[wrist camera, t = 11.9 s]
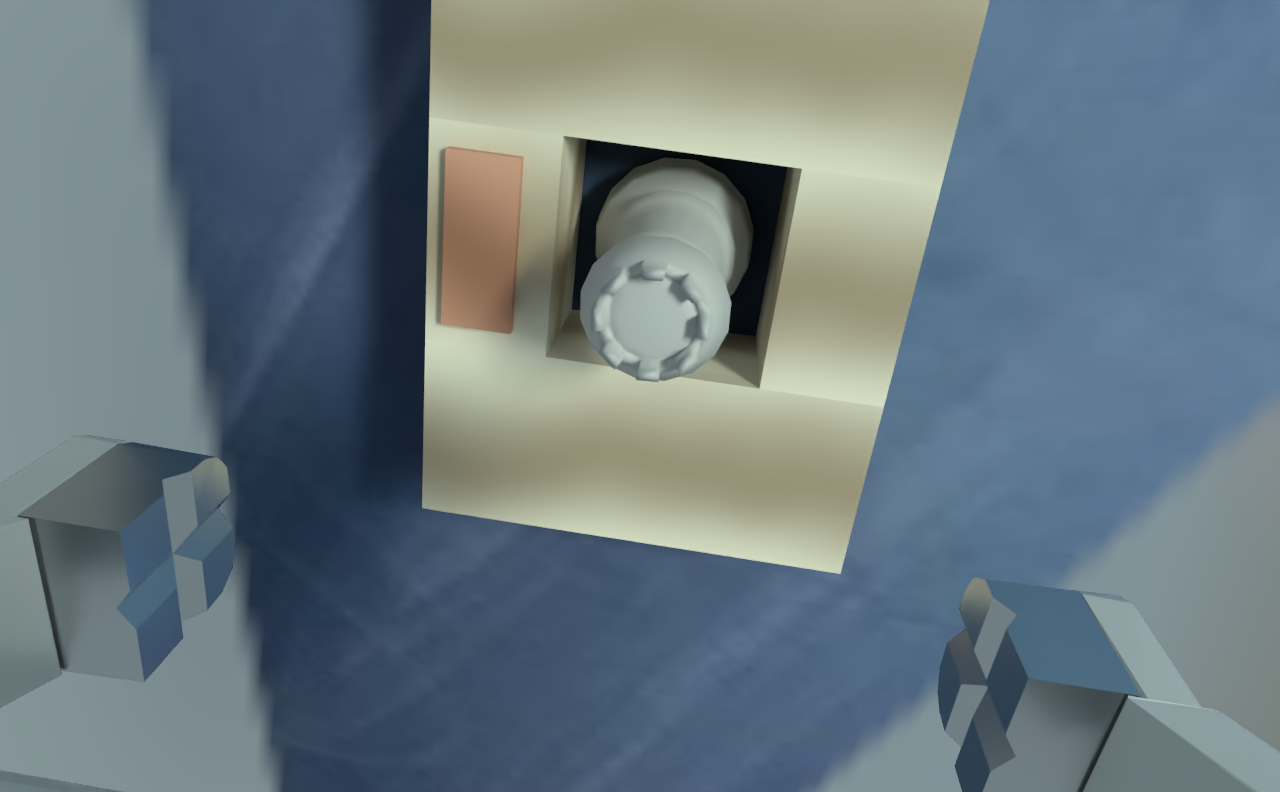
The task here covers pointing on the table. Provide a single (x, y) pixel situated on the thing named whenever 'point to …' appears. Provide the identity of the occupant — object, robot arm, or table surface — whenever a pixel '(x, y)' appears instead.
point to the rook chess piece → (666, 269)
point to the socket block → (743, 365)
